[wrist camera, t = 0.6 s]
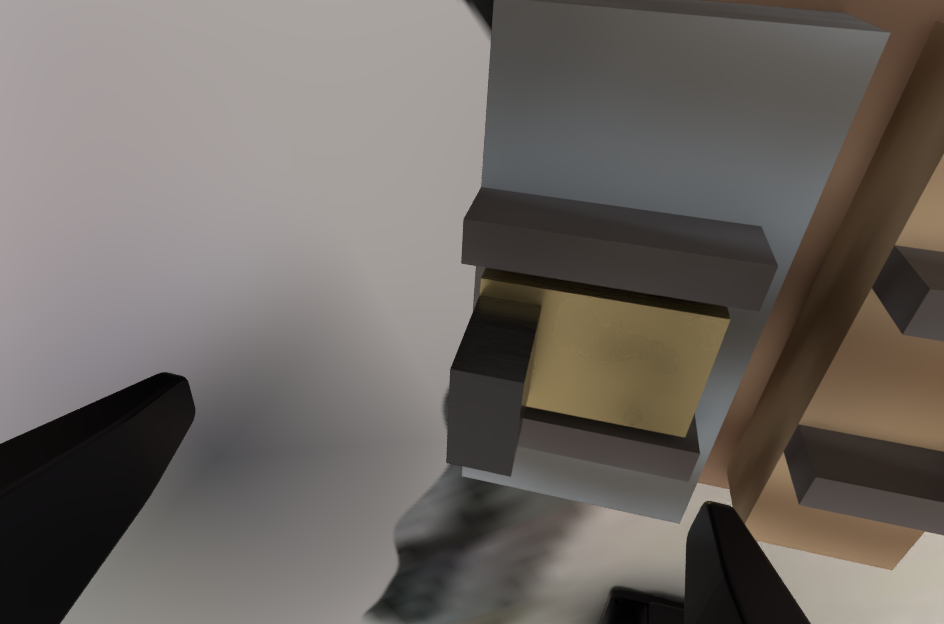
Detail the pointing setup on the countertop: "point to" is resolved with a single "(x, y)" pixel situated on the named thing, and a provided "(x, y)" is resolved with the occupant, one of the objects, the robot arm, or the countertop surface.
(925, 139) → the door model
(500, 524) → the countertop surface
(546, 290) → the yellow and black block
